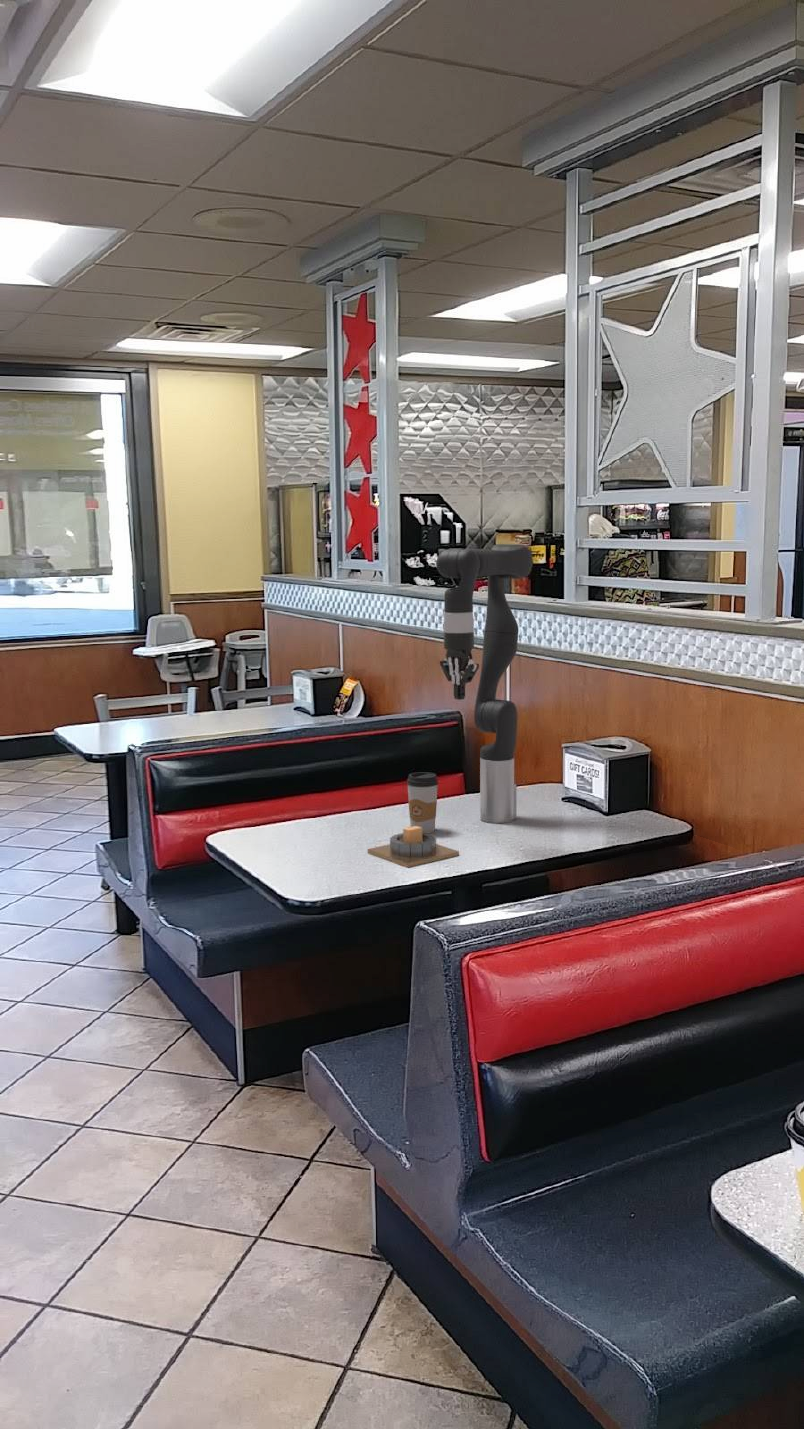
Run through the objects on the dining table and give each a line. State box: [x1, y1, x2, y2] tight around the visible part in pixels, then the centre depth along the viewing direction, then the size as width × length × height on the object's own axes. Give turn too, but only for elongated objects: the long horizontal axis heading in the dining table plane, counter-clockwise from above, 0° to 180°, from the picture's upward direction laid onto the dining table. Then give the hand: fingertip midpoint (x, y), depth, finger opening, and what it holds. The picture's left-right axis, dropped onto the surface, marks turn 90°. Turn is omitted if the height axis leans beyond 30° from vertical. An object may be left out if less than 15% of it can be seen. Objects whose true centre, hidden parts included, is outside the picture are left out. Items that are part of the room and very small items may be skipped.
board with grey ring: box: [367, 832, 460, 868], centre depth 274 cm, size 16×16×4 cm
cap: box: [402, 826, 422, 843], centre depth 274 cm, size 6×6×6 cm
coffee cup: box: [406, 771, 439, 834], centre depth 295 cm, size 8×8×15 cm
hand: (459, 699), depth 280 cm, fingers closed
